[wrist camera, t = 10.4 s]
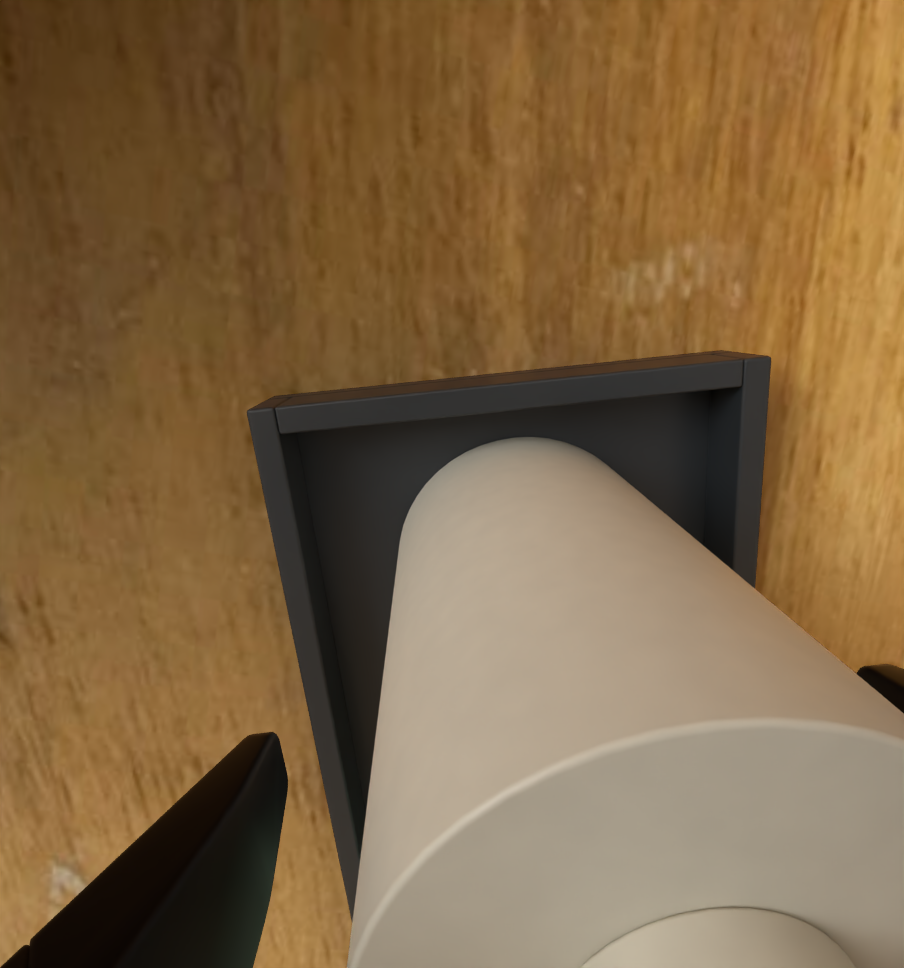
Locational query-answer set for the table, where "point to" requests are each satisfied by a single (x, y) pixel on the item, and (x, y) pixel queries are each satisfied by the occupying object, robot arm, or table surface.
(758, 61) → the table surface
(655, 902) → the cream bottle
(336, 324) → the table surface
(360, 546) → the tray
